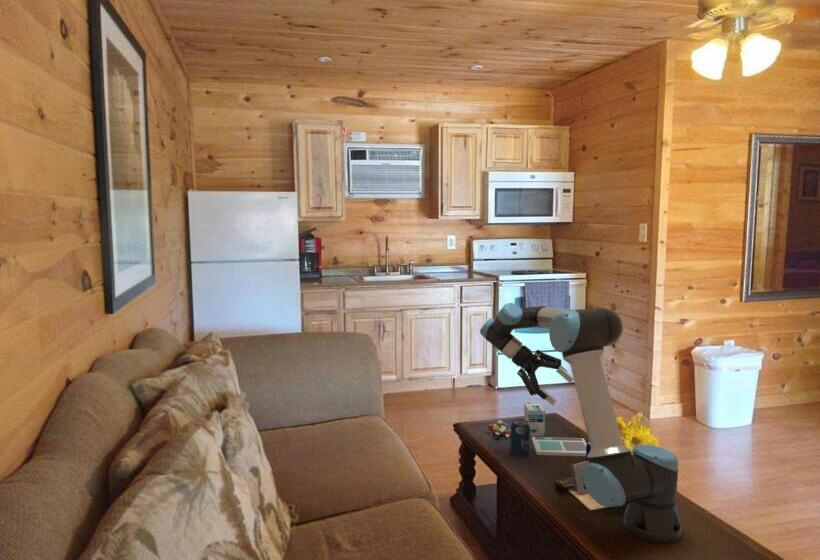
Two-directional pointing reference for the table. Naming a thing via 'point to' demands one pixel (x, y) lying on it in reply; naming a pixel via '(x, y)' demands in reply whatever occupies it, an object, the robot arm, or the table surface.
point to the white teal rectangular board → (559, 446)
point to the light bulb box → (535, 418)
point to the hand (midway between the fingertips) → (563, 391)
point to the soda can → (520, 437)
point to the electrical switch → (578, 476)
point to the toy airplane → (499, 429)
